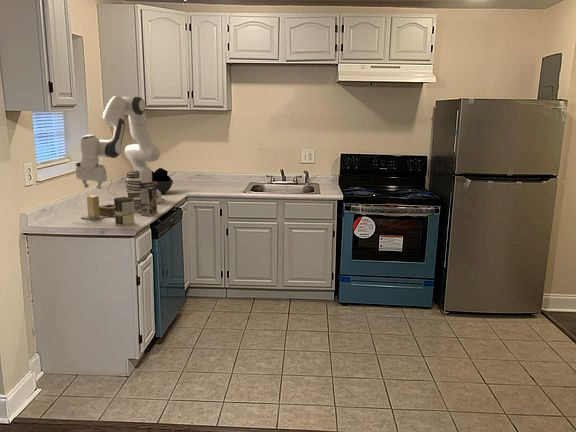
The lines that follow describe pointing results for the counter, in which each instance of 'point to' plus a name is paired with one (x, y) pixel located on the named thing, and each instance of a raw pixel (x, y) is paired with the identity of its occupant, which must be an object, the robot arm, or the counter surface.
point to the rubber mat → (93, 218)
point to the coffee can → (124, 211)
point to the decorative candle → (134, 188)
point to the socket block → (107, 210)
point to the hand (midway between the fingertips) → (92, 188)
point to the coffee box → (148, 201)
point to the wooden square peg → (93, 206)
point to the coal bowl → (161, 180)
